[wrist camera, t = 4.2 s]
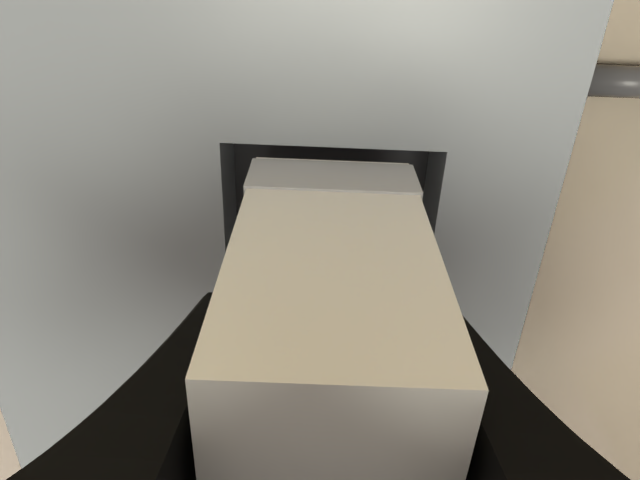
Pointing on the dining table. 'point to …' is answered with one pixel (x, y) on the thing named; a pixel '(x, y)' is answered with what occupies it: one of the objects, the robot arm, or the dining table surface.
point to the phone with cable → (615, 81)
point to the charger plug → (333, 335)
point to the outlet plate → (250, 142)
